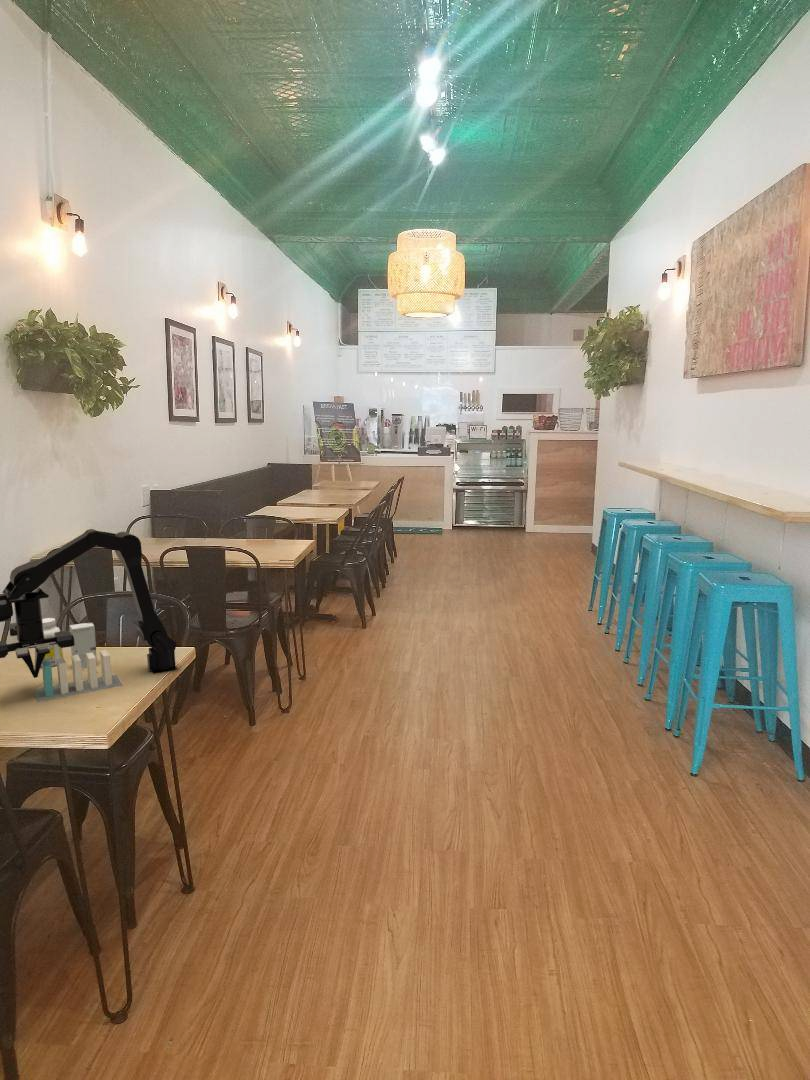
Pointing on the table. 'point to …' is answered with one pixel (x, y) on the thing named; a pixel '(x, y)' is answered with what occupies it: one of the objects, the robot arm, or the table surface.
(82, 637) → the skincare box
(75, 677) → the domino
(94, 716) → the table surface
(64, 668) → the domino
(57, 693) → the mat
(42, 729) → the table surface
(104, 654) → the domino
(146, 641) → the robot arm
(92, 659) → the domino
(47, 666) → the teal domino
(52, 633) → the supplement bottle
